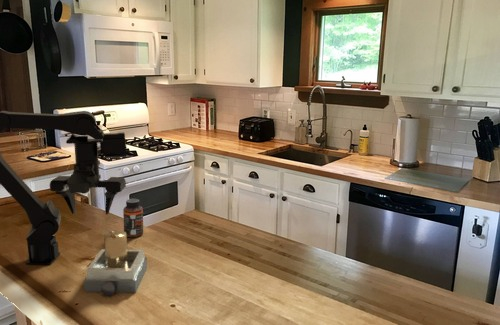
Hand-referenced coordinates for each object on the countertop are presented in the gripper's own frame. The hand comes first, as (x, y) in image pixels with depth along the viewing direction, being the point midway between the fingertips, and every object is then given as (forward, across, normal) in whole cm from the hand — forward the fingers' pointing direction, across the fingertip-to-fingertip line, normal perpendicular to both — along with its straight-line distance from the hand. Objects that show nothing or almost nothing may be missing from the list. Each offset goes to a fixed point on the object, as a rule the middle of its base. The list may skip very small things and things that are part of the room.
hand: (90, 213), depth 113 cm
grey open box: (+12, +11, -14) cm, 21 cm away
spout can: (+9, +11, -14) cm, 20 cm away
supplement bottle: (+12, +8, +14) cm, 20 cm away
